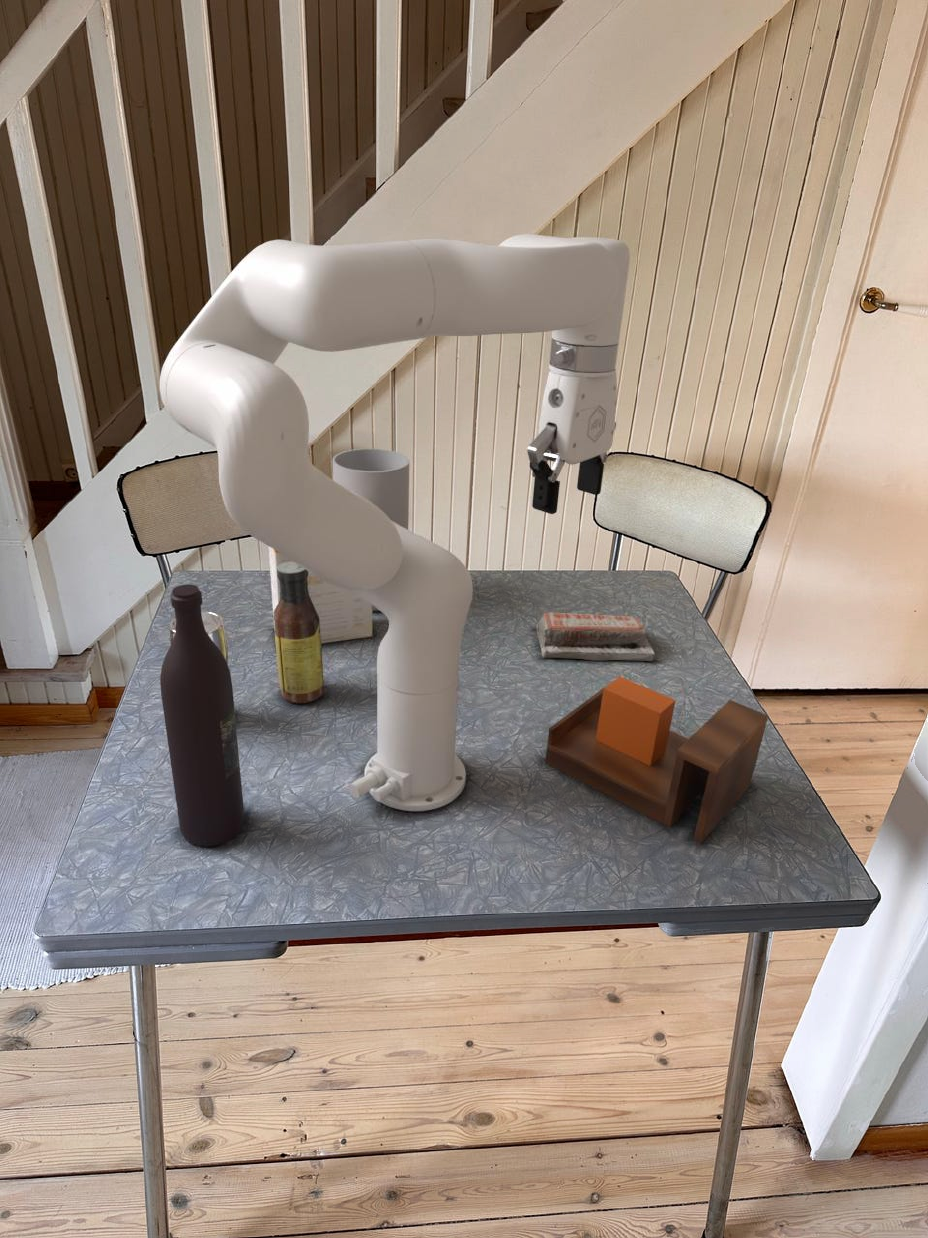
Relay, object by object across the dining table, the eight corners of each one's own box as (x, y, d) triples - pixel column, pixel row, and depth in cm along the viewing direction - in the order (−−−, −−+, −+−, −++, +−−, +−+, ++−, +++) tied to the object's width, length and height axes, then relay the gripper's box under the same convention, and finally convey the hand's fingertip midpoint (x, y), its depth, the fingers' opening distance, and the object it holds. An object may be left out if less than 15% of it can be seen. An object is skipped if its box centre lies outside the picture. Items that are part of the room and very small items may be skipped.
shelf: (700, 844, 97) (719, 768, 92) (544, 762, 109) (553, 691, 104) (749, 787, 107) (768, 715, 102) (601, 718, 119) (611, 651, 114)
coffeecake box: (362, 617, 142) (361, 508, 133) (373, 637, 136) (373, 525, 127) (272, 629, 137) (265, 516, 128) (280, 650, 131) (273, 534, 122)
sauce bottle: (332, 694, 121) (329, 568, 111) (297, 711, 117) (290, 582, 107) (304, 676, 125) (298, 553, 115) (269, 692, 120) (260, 566, 111)
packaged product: (544, 632, 130) (537, 603, 139) (541, 659, 132) (535, 629, 141) (659, 636, 131) (645, 607, 140) (654, 662, 133) (640, 632, 142)
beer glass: (217, 699, 118) (207, 604, 111) (244, 721, 114) (235, 624, 107) (171, 718, 114) (157, 620, 107) (197, 741, 109) (185, 641, 102)
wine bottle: (240, 847, 93) (217, 606, 79) (174, 849, 92) (139, 606, 78) (248, 805, 99) (227, 574, 85) (186, 807, 98) (155, 574, 84)
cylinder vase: (332, 583, 153) (329, 449, 141) (400, 579, 156) (402, 447, 144) (339, 615, 142) (336, 473, 130) (412, 610, 145) (415, 470, 133)
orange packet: (650, 766, 105) (660, 713, 101) (595, 740, 109) (603, 688, 105) (665, 752, 107) (675, 700, 104) (611, 727, 112) (619, 676, 108)
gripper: (568, 373, 87) (552, 527, 95) (649, 354, 99) (629, 492, 107) (510, 361, 91) (499, 510, 99) (595, 344, 103) (579, 478, 111)
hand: (567, 501), depth 103 cm, fingers open, 9 cm apart
